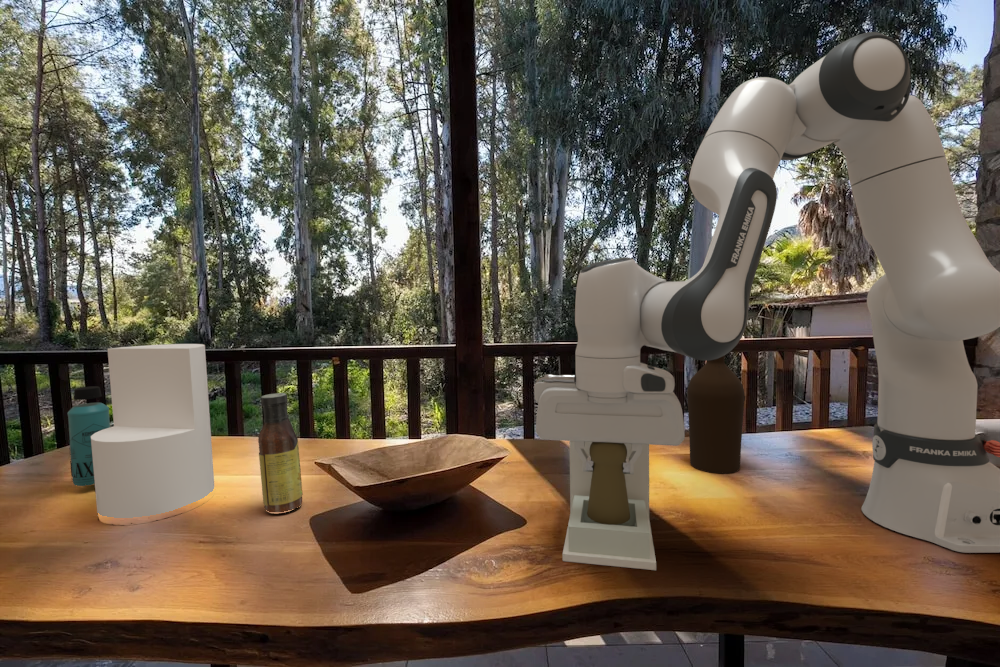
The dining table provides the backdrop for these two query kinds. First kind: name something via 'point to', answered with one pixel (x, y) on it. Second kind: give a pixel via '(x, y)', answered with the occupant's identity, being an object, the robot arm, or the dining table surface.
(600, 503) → the cork
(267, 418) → the sauce bottle
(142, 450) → the white stepped chair block
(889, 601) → the dining table surface
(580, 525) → the holder
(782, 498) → the dining table surface
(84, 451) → the beverage bottle
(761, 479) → the dining table surface
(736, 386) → the olive oil
